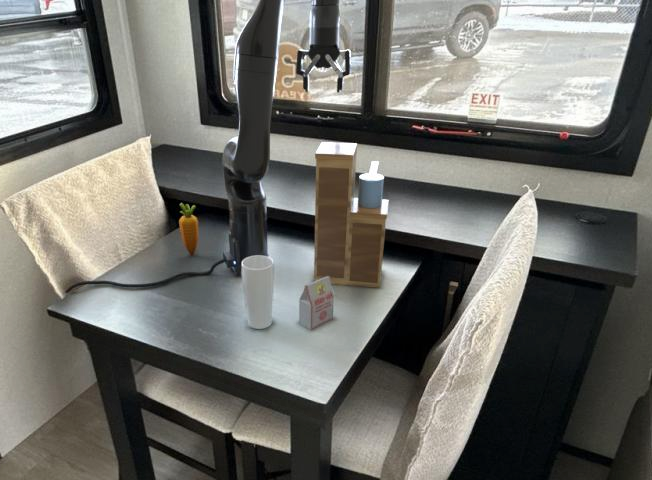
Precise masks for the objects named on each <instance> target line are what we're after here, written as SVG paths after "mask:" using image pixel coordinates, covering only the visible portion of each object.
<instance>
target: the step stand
mask: <svg viewBox="0 0 652 480" xmlns="http://www.w3.org/2000/svg"><path fill="white" fill-rule="evenodd" d="M357 150H358V143H357V142H355V143H354V142H334V141H333V142H332V141H329V142H328V141H321V143H320V144H319V146H318V148H317V150H316V151H315V153H314V159H315V198H314V199H315V201H314V202H315V203H314V204H315V205H314V254H313V255H314V256H313V260H314V261H313V262H314V263H313V282H315V281H317V280H319V279H322V278H324V277H326V276H330V282H331V285H342V286H351V287H365V288H374V289H380V288H381V280H382V270H383V260H384V259H383V258H384V248H385V238H386V226H387V218H388V212H389V210H388V209H389V203H390V202H389V201H390V200H389V199H385V198H384V199H383V198H382V205H381V206H380V207H378V208H364V207H361V206H359V205H358V197H355V187H356V172H357V171H356V168H357V152H358V151H357Z"/></svg>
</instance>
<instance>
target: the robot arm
mask: <svg viewBox="0 0 652 480" xmlns="http://www.w3.org/2000/svg"><path fill="white" fill-rule="evenodd" d="M284 5H285V0H259V1H258V3H257V5H256V8H255V10H254V11H253V13H252V14H251V16H250V18H249V19H248V20H247V22H246V24H245V25H244V26H243V28H242V30H241V32H240V34H239V35H238V37H237V40H236V43H235V49H234V59H233V83H234V92H235V98H236V104H237V110H238V131H237V136H235V137H233V138H231V139H230V140H229V141H228V142H227V143H226V144H225V146H224V148H223V152H222V173H223V182H224V183H223V184H224V192H225V195H226V197H227V202H228V203H227V204H228V217H229V218H228V219H229V230H230V231H229V232H228V246H229V250H225V251H222V259H220V260H218V261H216V262H215V263H213V264H212V265H211V267H210V269H208V270H207V271H200V272H198V271H185V272H180V273H176V274H173V275H172V276H170V277H167V278H165V279H163V280H158V281H153V282H148V283H121V282H116V281H112V280H84V281H82V280H81V281H78V282H75V283H73V284H71V285H70V286H69V287H67V288H66V290H65V291H64V293H66V294H67V293H70V292H71V291H73V289H75V288H77V287H79V286H84V285H110V286H115V287H118V288H119V287H120V288H129V289H130V288H132V289H133V288H149V287H156V286H159V285H164V284H166V283H169V282H171V281H173V280H175V279H177V278H180V277H185V276H207V275H210V274H212V273H213V272H214V270H215V268H216V267H217V266H219V265H221V264H224V263H225V265H226V267H227V268H228V269H231V270H232V272H233V273H234V275H235V276H236V277H239V276H240V277H242V271H241V266H242V265H241V263H242V261H243V260H244V259H245V258H247V257H250V256H255V255H262V256H267V257H270V255H269V250H268V249H269V247H268V214H267V213H268V211H267V194H266V191H265V190H264V188H263V184H262V180H263V179H264V177H265V176H266V174H267V173H268V171H269V168H270V161H271V122H272V121H271V120H272V114H273V113H272V111H273V106H274V105H273V104H274V96H275V85H276V79H277V71H278V64H279V63H278V62H279V53H280V52H279V51H280V49H279V48H280V37H281V30H282V20H283V12H284ZM309 11H310V13H309V47H308V50H305V49H301V48H300V49H298V50H297V51H296V52H297V53H296V67H295V69H296V71H295V73H296V75H299V76H301V77H302V89H303V90H305V91H304V92H305V93H309V92H310V76H309V75H310V73H311V72H312V71H313V70H314V68H317V69H322V68H324V69H330V68H331V69H332V70H333V71H334V72H335V74H336V75H337V78H336V79H337V81H336V93H337V94H340V93H341V91H342V90H343V88H344V78H345V77H348V76H349V75H350V74H351V73H352V65H351V64H352V59H351V58H352V56H351V55H352V54H351V53H352V51H351V49H348V48H347V49H346V50H340V47H339V46H340V45H339V44H340V24H341V20H340V17H341V16H340V0H310V10H309ZM340 56H341V57H342V60H344V70H343V69H342V68H341V66H340V65H339V63H338V61H337V60H338V59H339V57H340ZM306 57H308V58H309V60H310V63H309V65H308V66H307V67H306V69H305V70H304V69H303V67H304V66H303V65H304V60H305V59H306Z"/></svg>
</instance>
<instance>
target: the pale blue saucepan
mask: <svg viewBox="0 0 652 480" xmlns="http://www.w3.org/2000/svg"><path fill="white" fill-rule="evenodd" d="M379 166H380V161H378V160H372V161H371V163H370V166H369V172H368V173H367V172H366V173H362V174H360V175H359V177H358V188H357V189H358V190H357V191H358V192H357V198H358V205H359V206H361V207H364V208H378V207H380V206H381V205H382V199H383V198H384V197H383V195H384V185H385V176H384V175H382V174H379V173H378V172H379Z"/></svg>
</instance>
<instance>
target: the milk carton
mask: <svg viewBox="0 0 652 480" xmlns="http://www.w3.org/2000/svg"><path fill="white" fill-rule="evenodd" d="M334 307H335V293H334V289H333V286H332V284H331V282H330V276H326V277H324V278H322V279H319V280H317V281H315V282H314V281H313V282H310V283H307V284H306V285H304V288H303V291H302V293H301V295H300V297H299V298H298V315H299V316H298V323H299V324H300V325H301V326H303V327H304V328H306V329H308V330H310V331H311V330H313V329H315V328H318V327H320V326H321V325H324V324H326V323H327V322H330V321H332V320H333V319H334V313H335V311H334V309H335V308H334Z"/></svg>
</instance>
